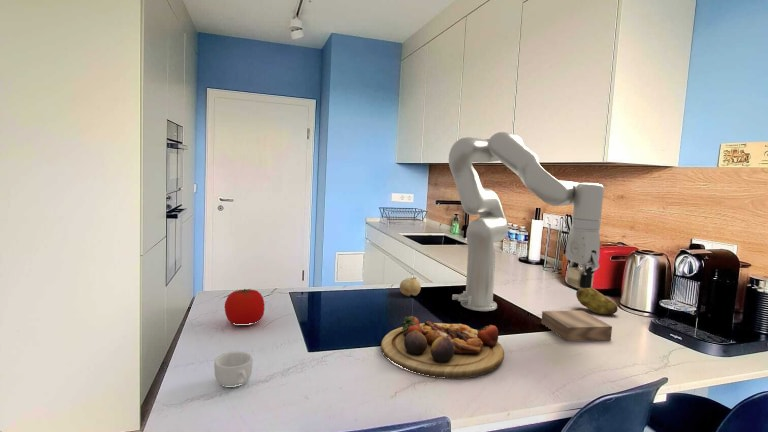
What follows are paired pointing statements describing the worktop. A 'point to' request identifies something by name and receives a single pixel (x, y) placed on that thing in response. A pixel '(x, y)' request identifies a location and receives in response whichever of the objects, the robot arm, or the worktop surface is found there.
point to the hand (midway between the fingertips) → (579, 284)
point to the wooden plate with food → (443, 348)
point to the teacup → (233, 368)
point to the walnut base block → (576, 325)
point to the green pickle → (596, 301)
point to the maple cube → (576, 277)
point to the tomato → (244, 306)
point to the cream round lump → (410, 287)
